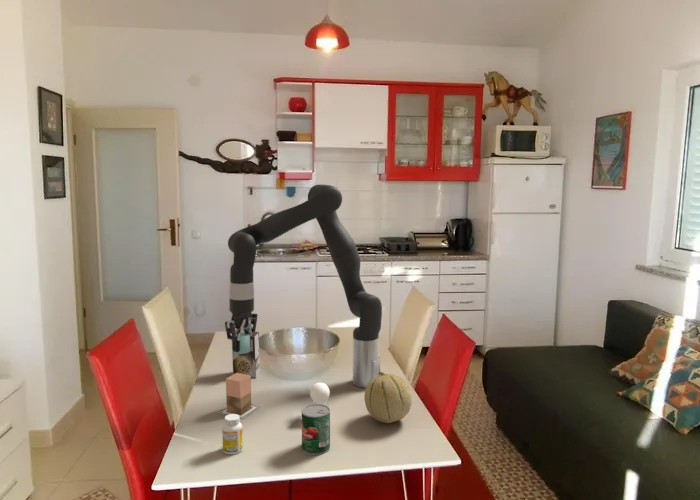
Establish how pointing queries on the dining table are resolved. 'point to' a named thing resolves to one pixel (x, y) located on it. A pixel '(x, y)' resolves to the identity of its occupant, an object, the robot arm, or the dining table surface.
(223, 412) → the mat
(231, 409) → the walnut block
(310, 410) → the canned tomato
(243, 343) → the mint green capsule
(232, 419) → the supplement bottle
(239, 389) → the terracotta block
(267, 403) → the dining table surface
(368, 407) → the cantaloupe
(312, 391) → the lightbulb
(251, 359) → the coffee box
